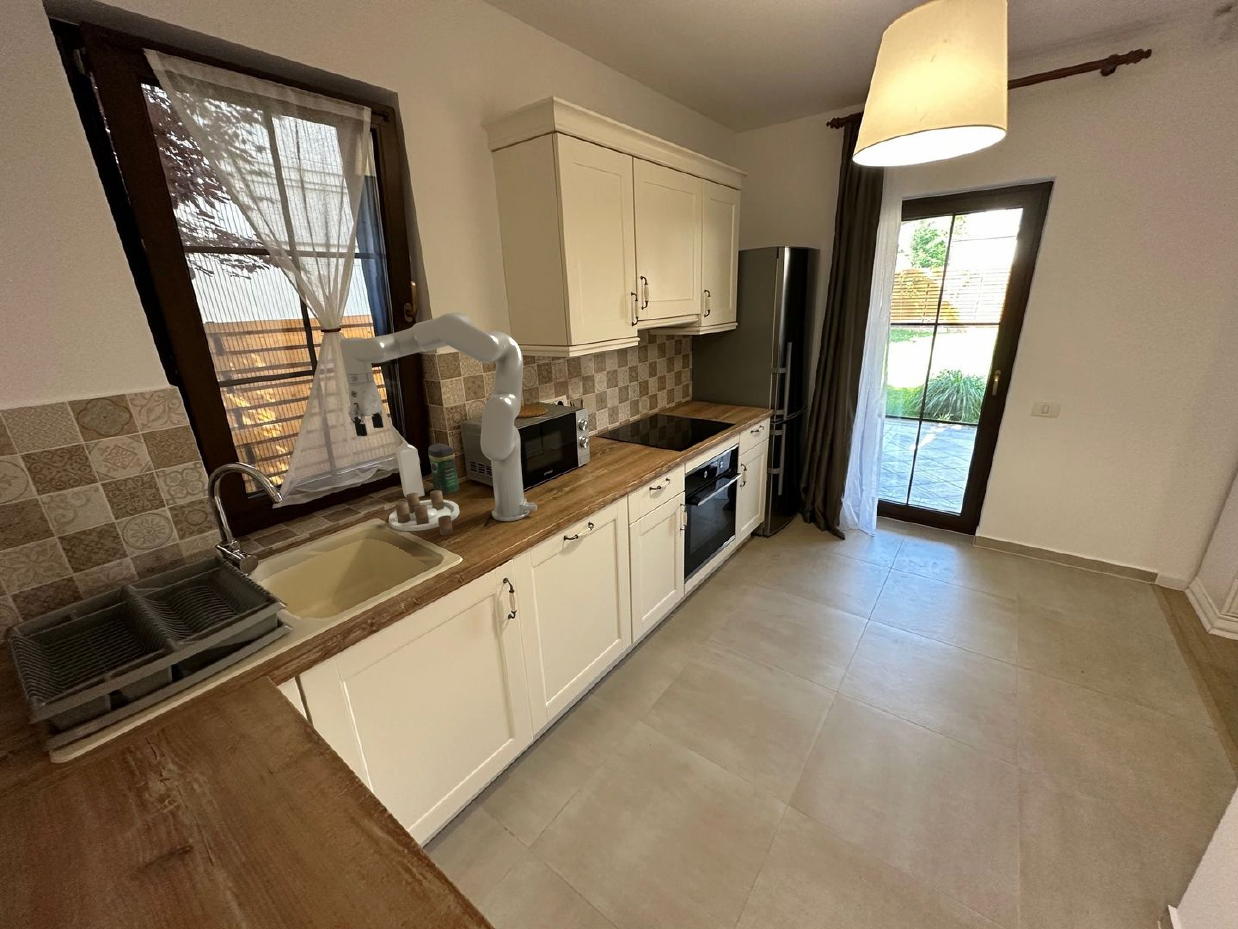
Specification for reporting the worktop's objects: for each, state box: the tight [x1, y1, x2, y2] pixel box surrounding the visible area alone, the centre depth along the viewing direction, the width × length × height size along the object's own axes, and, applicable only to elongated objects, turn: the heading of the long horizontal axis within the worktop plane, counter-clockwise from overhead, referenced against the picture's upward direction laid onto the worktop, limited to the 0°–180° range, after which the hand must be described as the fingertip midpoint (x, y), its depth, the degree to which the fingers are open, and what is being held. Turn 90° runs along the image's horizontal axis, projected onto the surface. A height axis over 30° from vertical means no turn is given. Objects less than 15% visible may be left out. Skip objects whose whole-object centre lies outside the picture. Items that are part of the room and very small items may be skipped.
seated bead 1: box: [405, 493, 420, 513], centre depth 165 cm, size 4×4×6 cm
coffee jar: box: [428, 443, 460, 495], centre depth 182 cm, size 10×8×19 cm
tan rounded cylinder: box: [438, 515, 454, 536], centre depth 149 cm, size 4×4×6 cm
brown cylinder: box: [429, 490, 444, 510], centre depth 167 cm, size 4×4×6 cm
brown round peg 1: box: [394, 501, 411, 523], centre depth 158 cm, size 4×4×6 cm
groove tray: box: [388, 499, 460, 532], centre depth 162 cm, size 22×22×2 cm
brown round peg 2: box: [414, 505, 429, 525], centre depth 155 cm, size 4×4×6 cm
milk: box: [395, 438, 425, 498], centre depth 176 cm, size 6×6×22 cm
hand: (370, 431), depth 156 cm, fingers open, 9 cm apart
